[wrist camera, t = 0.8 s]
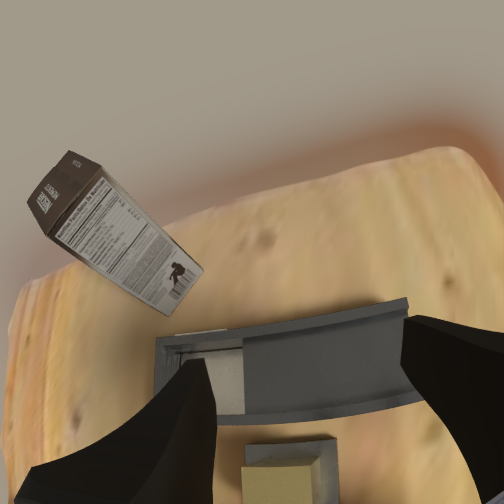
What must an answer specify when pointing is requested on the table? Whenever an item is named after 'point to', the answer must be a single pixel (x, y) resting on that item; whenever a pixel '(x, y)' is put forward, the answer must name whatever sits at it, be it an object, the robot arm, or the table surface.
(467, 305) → the table surface
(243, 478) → the block
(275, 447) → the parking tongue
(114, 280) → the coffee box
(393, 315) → the rail
